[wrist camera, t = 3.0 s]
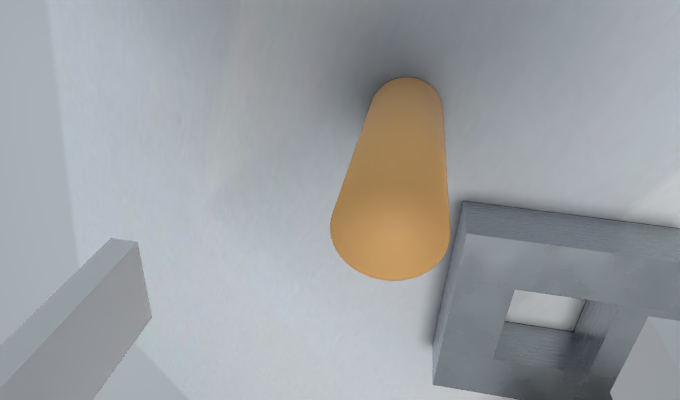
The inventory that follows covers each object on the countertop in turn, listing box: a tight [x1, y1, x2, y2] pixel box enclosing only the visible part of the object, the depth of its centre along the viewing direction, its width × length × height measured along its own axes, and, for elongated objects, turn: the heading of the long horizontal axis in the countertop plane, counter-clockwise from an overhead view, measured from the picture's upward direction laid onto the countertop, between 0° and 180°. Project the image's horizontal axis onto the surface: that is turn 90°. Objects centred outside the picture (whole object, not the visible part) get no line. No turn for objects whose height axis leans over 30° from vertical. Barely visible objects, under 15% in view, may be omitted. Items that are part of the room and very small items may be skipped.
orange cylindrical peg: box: [330, 77, 450, 281], centre depth 21 cm, size 4×4×12 cm
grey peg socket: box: [433, 201, 680, 400], centre depth 29 cm, size 12×12×4 cm
